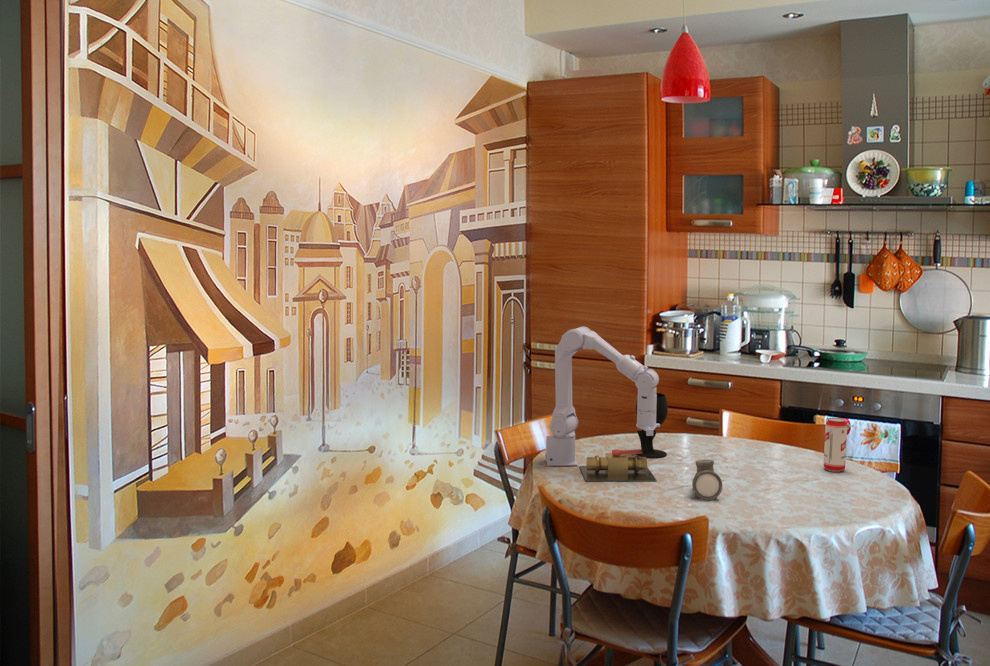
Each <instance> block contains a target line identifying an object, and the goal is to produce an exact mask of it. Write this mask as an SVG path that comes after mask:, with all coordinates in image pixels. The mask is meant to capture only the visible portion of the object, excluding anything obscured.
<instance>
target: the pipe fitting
mask: <svg viewBox="0 0 990 666" xmlns="http://www.w3.org/2000/svg"><path fill="white" fill-rule="evenodd" d="M714 465H715V461H714V459H698V460H695V466H696V473H695V474H694V477H693V479H692V481H691V483H692V484H691V486H692V490H693V492H694V494H695V495H696V497H698V498H699V499H701V500H705V501H711V500H714V499H716V498H718V497H719V496H720V495H721V493H722V491H723V481H722V479H721V476H719V474H718V473H717V472H715V469H714Z"/></svg>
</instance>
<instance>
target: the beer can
mask: <svg viewBox="0 0 990 666" xmlns="http://www.w3.org/2000/svg"><path fill="white" fill-rule="evenodd" d="M824 428H825V429H824V450H823V451H824V452H823V468H824V469H825V470H826V471H827V470H828V471H827V472H831V471H832V473H841V472H840V471H842V472H843V471H844V470H846V464H847V463H846V462H847V461H846V460H847V459H846V457H847V437H848V436H847V435H848V424H847V422H846V419H844V418H840V417H829V418H827V421H826V422H825V427H824Z"/></svg>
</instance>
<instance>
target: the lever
mask: <svg viewBox="0 0 990 666" xmlns="http://www.w3.org/2000/svg"><path fill="white" fill-rule="evenodd" d="M611 453H612V455H615V456H619V455H622V454H626V455H636V454H643V453H642V450H641V448H639V449H618V448H617V449H612V450H611Z"/></svg>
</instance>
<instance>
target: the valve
mask: <svg viewBox="0 0 990 666" xmlns="http://www.w3.org/2000/svg"><path fill="white" fill-rule="evenodd" d="M585 460H586V464H585V465H579V470H580V471H581V474H582V477H583V478H584V481H585V483H623V482H627V483H630V482H633V483H634V482H636V483H637V482H638V483H639V482H641V483H643V482H644V483H645V482H646V483H649V482H650V483H651V482H653V483H654V482H657V481H658V480H657V479H656V477H655V475H654V474H653V473H652V472H651V470H650V469H649V467H648V458H646V457H640V456H638V455H636V454H633V456H628V454H622V455H619V456H615V455H612V452H605V456H600V455H594V456H590V457H589V456H588V457H586V459H585Z"/></svg>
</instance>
